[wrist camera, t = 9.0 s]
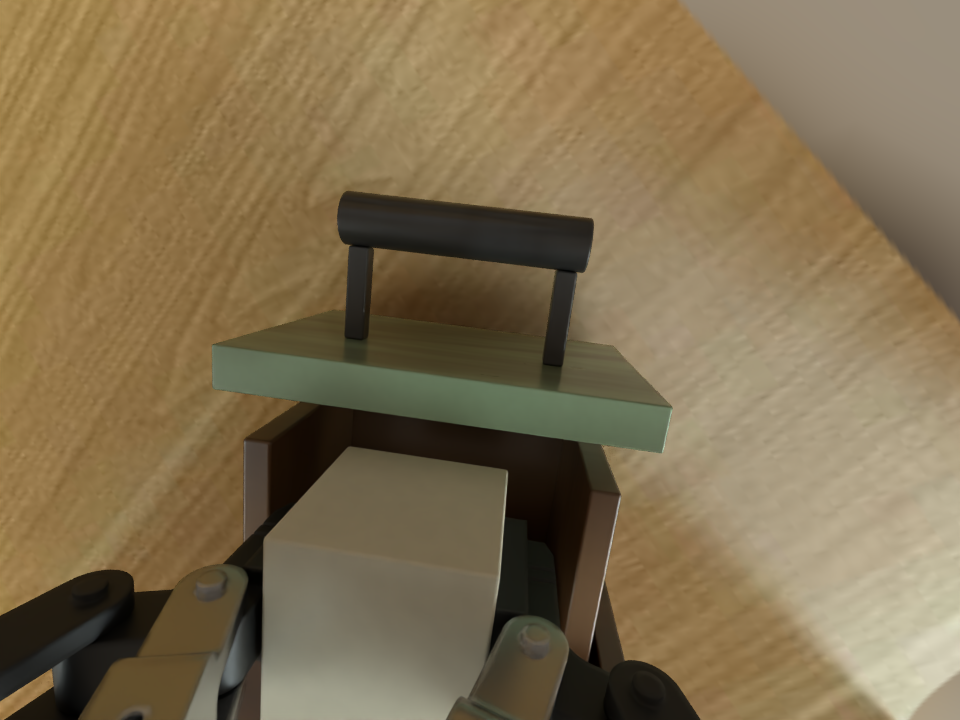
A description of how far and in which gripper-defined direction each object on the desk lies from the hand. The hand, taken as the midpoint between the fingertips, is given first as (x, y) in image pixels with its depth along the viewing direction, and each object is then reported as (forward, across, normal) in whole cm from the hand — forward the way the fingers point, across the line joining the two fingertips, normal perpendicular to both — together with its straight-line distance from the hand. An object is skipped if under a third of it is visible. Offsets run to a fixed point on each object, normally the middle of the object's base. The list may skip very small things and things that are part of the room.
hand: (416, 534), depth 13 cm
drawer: (+7, 0, 0) cm, 7 cm away
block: (0, 0, 0) cm, 0 cm away
